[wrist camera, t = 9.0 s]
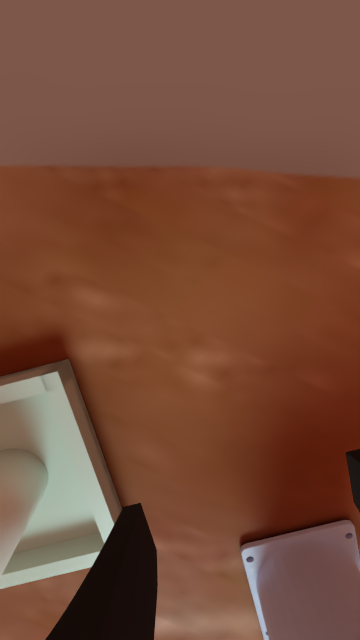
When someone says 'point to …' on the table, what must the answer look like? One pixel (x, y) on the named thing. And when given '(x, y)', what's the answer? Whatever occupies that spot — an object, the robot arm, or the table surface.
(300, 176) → the table surface
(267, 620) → the robot arm
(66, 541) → the trough tray
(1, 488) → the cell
